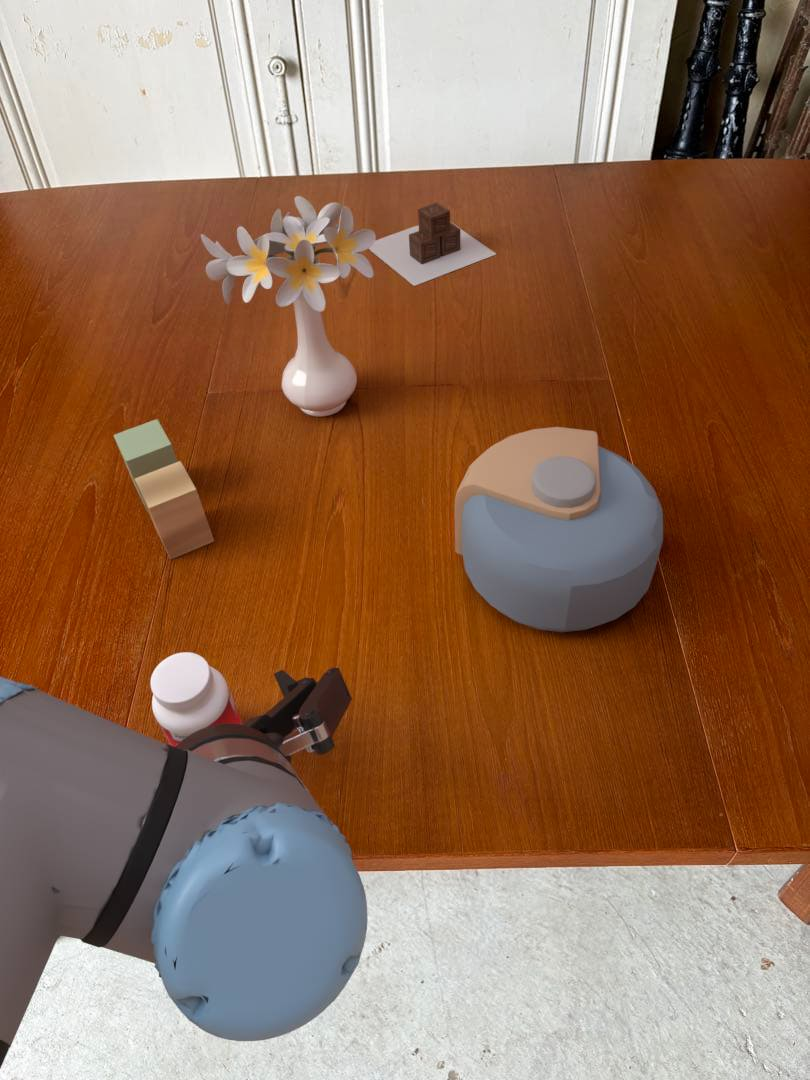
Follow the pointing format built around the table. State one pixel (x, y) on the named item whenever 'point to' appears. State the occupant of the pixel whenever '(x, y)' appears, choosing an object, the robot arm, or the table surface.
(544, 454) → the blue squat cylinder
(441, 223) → the stack of crates
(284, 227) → the flower vase
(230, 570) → the table surface
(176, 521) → the maple block
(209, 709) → the pill bottle
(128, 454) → the sage block
